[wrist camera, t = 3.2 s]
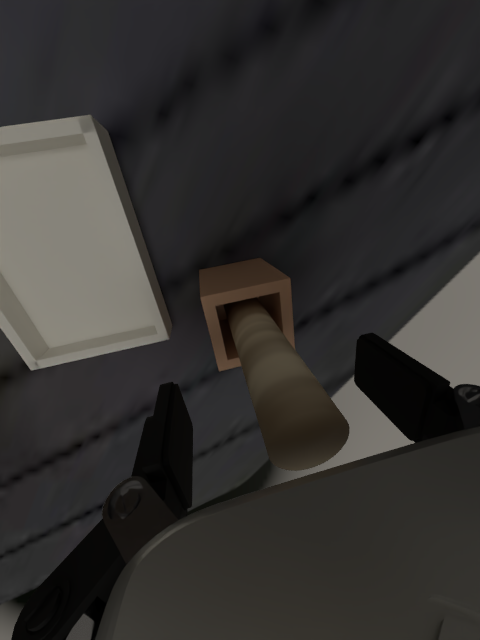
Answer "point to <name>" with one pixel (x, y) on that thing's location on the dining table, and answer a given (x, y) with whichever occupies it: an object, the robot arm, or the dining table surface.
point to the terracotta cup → (240, 285)
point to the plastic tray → (71, 247)
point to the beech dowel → (284, 392)
